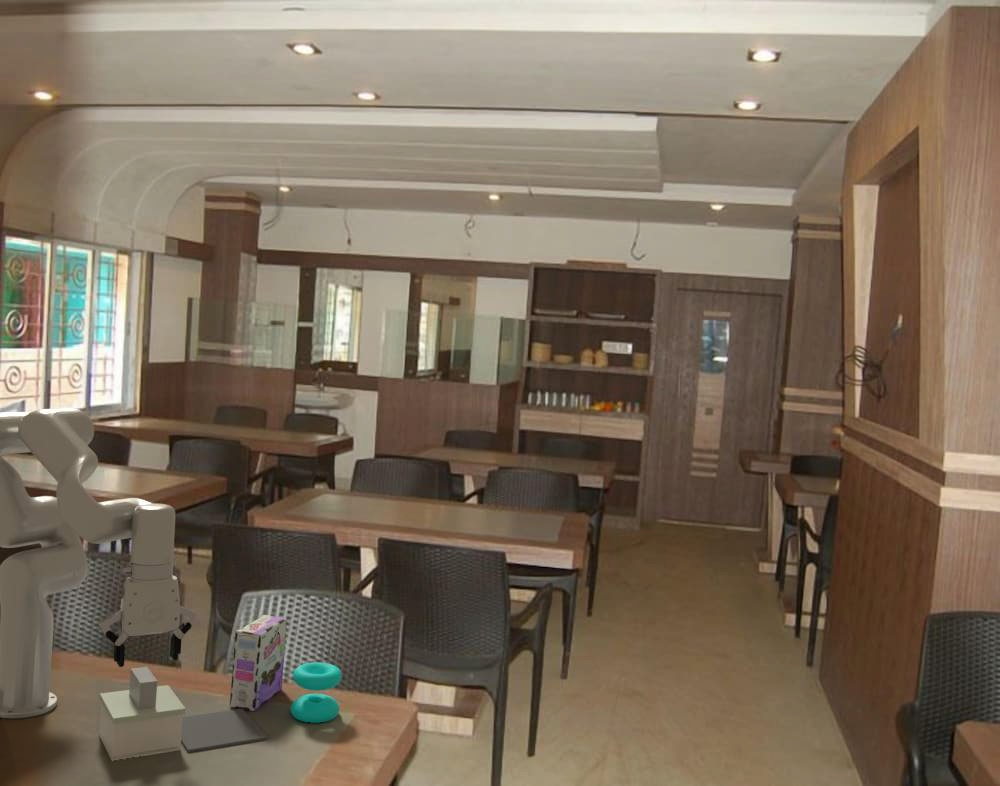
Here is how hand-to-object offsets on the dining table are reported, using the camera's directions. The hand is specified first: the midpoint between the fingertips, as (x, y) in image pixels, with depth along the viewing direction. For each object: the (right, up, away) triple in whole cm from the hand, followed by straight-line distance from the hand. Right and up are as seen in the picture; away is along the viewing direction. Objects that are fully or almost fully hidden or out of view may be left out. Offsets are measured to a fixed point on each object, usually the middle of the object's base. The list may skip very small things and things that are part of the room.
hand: (147, 661), depth 175 cm
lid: (-1, -10, +1) cm, 10 cm away
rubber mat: (+10, -16, +9) cm, 21 cm away
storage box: (-2, -16, +1) cm, 16 cm away
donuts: (+27, -17, +20) cm, 38 cm away
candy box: (+13, -16, +27) cm, 34 cm away
